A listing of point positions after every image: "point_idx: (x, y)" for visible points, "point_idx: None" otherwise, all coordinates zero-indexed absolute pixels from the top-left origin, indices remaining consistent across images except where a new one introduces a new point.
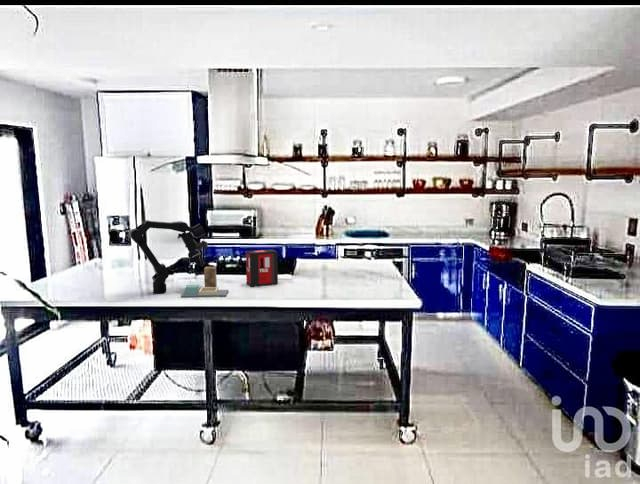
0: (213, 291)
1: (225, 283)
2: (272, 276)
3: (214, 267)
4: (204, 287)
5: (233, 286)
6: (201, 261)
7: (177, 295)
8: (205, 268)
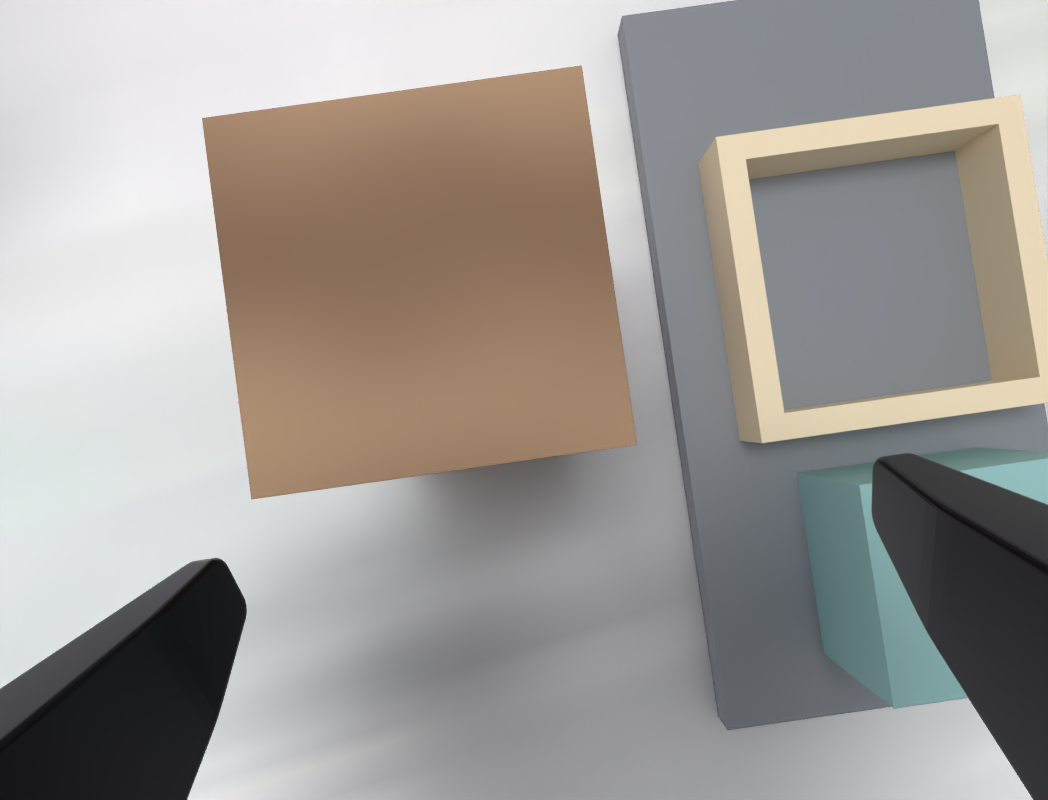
0: (1024, 145)
1: (61, 214)
2: None
3: (370, 133)
4: (765, 380)
5: (274, 30)
6: (103, 756)
7: (931, 768)
8: (575, 408)
